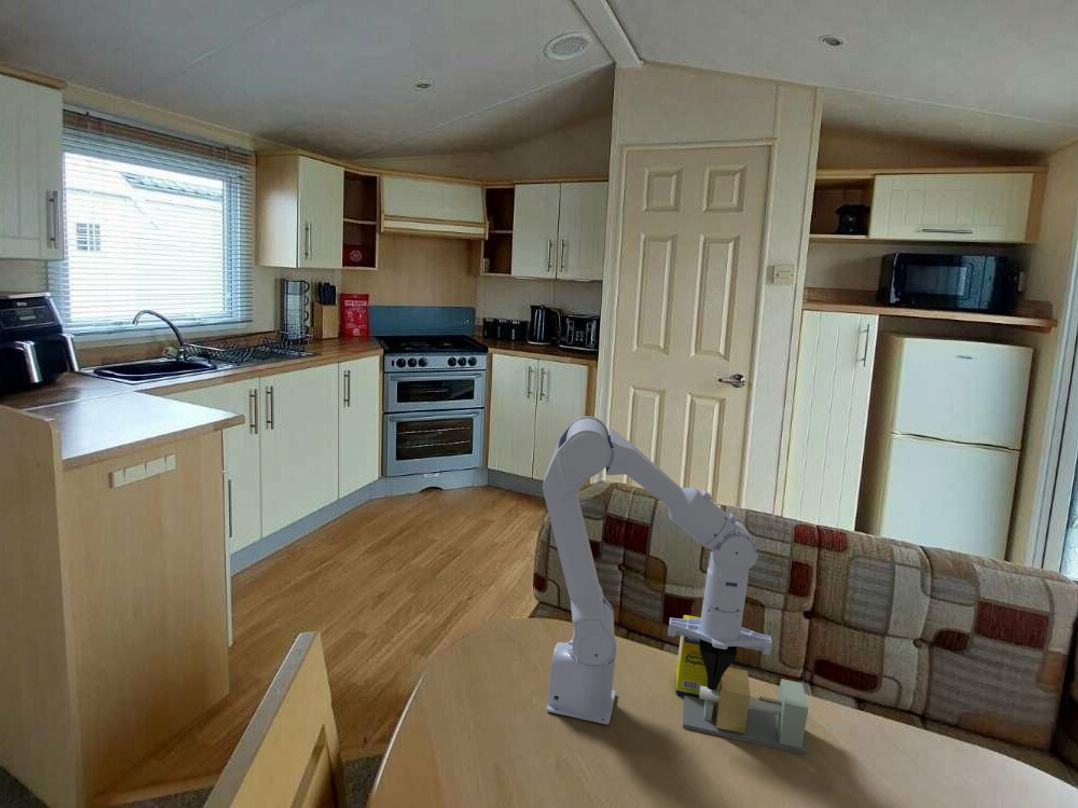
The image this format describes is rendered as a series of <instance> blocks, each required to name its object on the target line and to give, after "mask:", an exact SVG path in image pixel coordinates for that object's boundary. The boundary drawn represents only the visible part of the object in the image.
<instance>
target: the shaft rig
mask: <svg viewBox="0 0 1078 808" xmlns="http://www.w3.org/2000/svg"><path fill="white" fill-rule="evenodd" d="M719 694H720V690H719V689H717V690H712V689H708V688H707V687H705V686H700V695H699V698H696V697H691V696H687V695H684V696H683V711H682V712H683V715H682V719H683V720H682V728H683V729H687V730H693V731H696V732H701V733H706V734H709V735H715V736H720V737H723V738H729V739H732V740H737V741H742V742H744V743H745V742H746V743H749V742H750V744H754V743H755V744H754V745H758V744H759V746H762V747H768V748H771V749H777V750H781V751H786V752H791V753H795V754H800V755H803V756H805V755H806V752H807V751H806V747H805V742H804V736H805V730H806V726H807V725H806V724H807V720H808V713H809V705H808V701H807V697H806V694H805V689H804V685H803V682H799V681H793V680H789V679H784V678H781V679H780V683H779V689H778V694H777V699H776V698H773V697H766V696H761V695H760V696H759V697H757V696H752V695H750V701H749V708H748V714H747V721H746V727H745V733H744V734H743V733H738V732H733V731H729V730H724V729H720V728H716V714H715V702H718V701H719Z"/></svg>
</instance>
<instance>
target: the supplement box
mask: <svg viewBox="0 0 1078 808" xmlns="http://www.w3.org/2000/svg"><path fill="white" fill-rule="evenodd" d="M682 619H701V616H700V617H699V616H693V615H687V614H684V615H683V617H682ZM707 679H708V678H707V672H706V668H705V664H704V661H703V658H702V656H701V653H700V639H696V638H691V637H686V636H681V635H680V638H679V646H678V653H677V662H676V668H675V694H676V695H679V696H683V697H684V695H687V696H691V697H696V698H699V695H700V686H705V687H707Z"/></svg>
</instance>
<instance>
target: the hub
mask: <svg viewBox="0 0 1078 808" xmlns="http://www.w3.org/2000/svg"><path fill="white" fill-rule="evenodd" d="M749 682H750V681H749V674H748V670H744V669H739V668H733V667H730V666H729V667H728V668H727V670H726V671H725V672H724V674H723V676H722V677H721V679H720V682H719V684H718V687H717V689H719V690H720V694H719V701H718V702H715V714H716V728H720V729H724V730H729V731H733V732H738V733H743V734H744V733H745V727H746V721H747V714H748V708H749V701H750V696H751V690H750V683H749Z"/></svg>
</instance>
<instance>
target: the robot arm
mask: <svg viewBox="0 0 1078 808" xmlns="http://www.w3.org/2000/svg"><path fill="white" fill-rule="evenodd" d="M603 470H605V474H606V475H607V476H618V475H619V476H620V475H626V476H628V477H629V478H630V479H631V480H633V481H634V482H635V483H637V484H638V485H639V486H641V487H642V488H644V489H645V490H646V491H648V492H649V493H650V494H651V495H653V496H654V497H656V499H658V500H659V501H661V502H662V503H663V504H665V505H666V507H668V511H667V512H668V518H669V520H670V521H671V522H673V523H674V524H675V525H677V526H678V527H679V528H680V529H681V530H683V531H684V532H685V533H686V534H687V535H689V536H690V537H691V538H693V539H694V540H695V541H696V542H697V543H698V544H699V545H701V546H702V547H704V548H706V549H709V550H711V552H710V553H709V561H708V562H709V563H708V567H707V570H706V571H707V572H706V579H705V586H704V594H703V599H702V609H701V615H700V618H701V619H683V618H676V617H675V618H674V617H669V622H668V623H669V624H668V632H667V636H668V637H676V636H680V637H681V636H686V637H691V638H696V639H700V653H701V656H702V658H703V661H704V664H705V668H706V672H707V678H708V679H707V688H708V689H712V690H717V687H718V684H719V682H720V679H721V677H722V676H723V674H724V672H725V671H726V670H727V668H728V667H730V666H731V665H732V664H733V663H734V662H735V661H736V658H737V656H738V650H737V649H738V647H740V648H744V649H748V650H755V651H758V652H759V651H760V652H761V653H762V654H764V655H769V656H771V653H772V646H773V641H772V637H771V635H766V634H763V633H759V632H758V631H757V632H756V631H754V630H751V629H748V628H745V627H742V623H743V616H744V610H745V609H744V608H745V604H746V603H745V602H746V595H747V589H748V582H749V571H750V569H751V568H752V567H754V565H755V564H756V563H757V561H758V559H759V554H758V553H757V545H756V542H755V541H754V539H753V537H752V536H751V534H750V533H749V531H748V529H747V528H746V526H745V525H744V524H743V523H742V522H741V520H740V519H739V518H737V517H736V516H735V515H734V514H733V513H731V512H730V513H729V514H728V513H726V512H725V511H724V510H723V509H721V507H719V506H718V505H717V504H715V503H714V502H713V501H712V500H713V497H712V495H711V493H709V492H708V491H707V490H705V489H703V490H702V491H700V490H698V488H696V487H681V486H680V484H677V482H676V481H675V480H673V479H672V478H671V477H670V476H669V475H667V474H666V473H665V471H663V470H662V469H661V468H660V467H659V466H658V465H656V464H655V463H654V462H653V461H652V460H651V459H650V458H649V457H647V456H646V455H645V454H644V453H643V452H642V450H639V448H637V446H635V445H634V444H633V443H632V442H630V441H629V440H628V439H627V438H625V436H623V435H622V434H621V433H619V432H618V431H616V429H613V428H612V427H609V430H608V427H607V426H606V425H605V423H604V422H603V420H600V419H599V418H597V417H595V416H589V415H587V416H580V417H578V418H576V419H575V420H573V421H572V422H571V423H570V425H568V426H567V427H566V429H565V430H564V431H563V432H562V433H561V434H560V436H559V439H558V441H557V444H556V447H555V450H554V452H553V454H552V458H551V460H550V463H549V465H548V468H547V470H546V473H545V475H544V478H543V482H542V491H543V497H544V501H545V505H546V509H547V513H548V516H549V520H550V525H551V528H552V533H553V536H554V541H555V545H556V548H557V552H558V557H559V560H560V565H561V568H562V573H563V576H564V581H565V585H566V589H567V592H568V597H569V599H570V610H571V618H572V625H573V636H572V637H571V639H569V641H568V642H560V641H559V642H557V643H556V645H555V647H554V650H553V654H552V657H551V658H552V659H551V665H550V672H549V673H550V674H549V675H550V676H549V682H548V683H549V685H548V694H547V695H548V697H547V706H546V711H547V712H549V713H554V714H558V715H562V716H567V717H571V718H575V719H578V720H579V719H580V720H584V721H588V722H593V723H598V724H602V725H605V726H606V725H607V726H608V725H610V722H611V718H612V714H613V709H614V702H615V699H616V690H614V689H613V684H614V673H615V665H616V655H617V640H616V636H615V624H614V623H615V611H614V609H613V608H614V607H613V606H612V605H611V603H610V602H609V601H608V600H607V599H606V597H605V594H604V591H603V588H602V586H601V585H600V582H599V577H598V573H597V569H596V566H595V561H594V557H593V552H592V549H591V543H590V541H589V537H588V532H587V528H586V527H587V526H586V524H585V519H584V515H583V511H582V507H581V502H580V499H579V493H578V492H579V491H580V490H581V488H582V487H583V486H584V485H585V483H586V482H587V481H588V480H590V479H592V478H593V477H594V476H596V475H598V474H600V473H601V472H602V471H603Z"/></svg>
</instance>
